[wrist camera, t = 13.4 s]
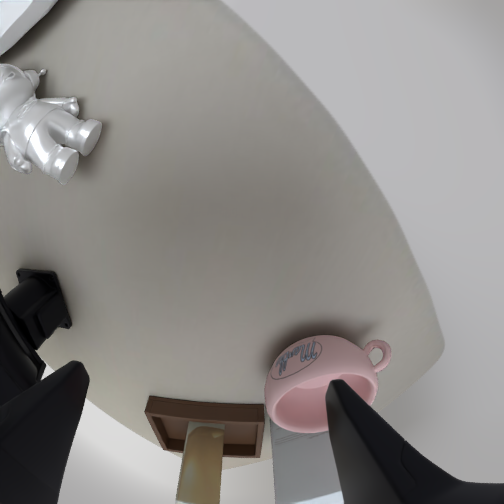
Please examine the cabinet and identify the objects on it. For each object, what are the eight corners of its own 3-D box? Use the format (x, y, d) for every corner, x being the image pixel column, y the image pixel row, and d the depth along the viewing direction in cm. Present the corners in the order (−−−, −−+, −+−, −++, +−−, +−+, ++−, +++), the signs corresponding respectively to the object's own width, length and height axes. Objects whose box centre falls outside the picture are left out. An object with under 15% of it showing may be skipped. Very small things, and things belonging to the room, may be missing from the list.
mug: (295, 402, 27) (301, 444, 22) (242, 355, 24) (240, 404, 19) (390, 350, 25) (412, 390, 19) (356, 288, 22) (383, 330, 16)
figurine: (29, 199, 10) (-75, 114, 4) (48, 233, 17) (-49, 158, 11) (131, 81, 15) (14, 28, 9) (115, 136, 21) (17, 80, 15)
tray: (166, 436, 31) (163, 450, 29) (149, 395, 27) (144, 411, 25) (259, 443, 31) (260, 457, 29) (263, 404, 27) (264, 422, 25)
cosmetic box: (219, 440, 30) (213, 517, 19) (187, 434, 30) (175, 511, 18) (226, 418, 28) (220, 509, 16) (190, 411, 27) (174, 502, 16)
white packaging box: (292, 435, 30) (301, 514, 19) (268, 413, 28) (273, 507, 16) (343, 417, 29) (364, 498, 17) (326, 392, 27) (350, 489, 15)
